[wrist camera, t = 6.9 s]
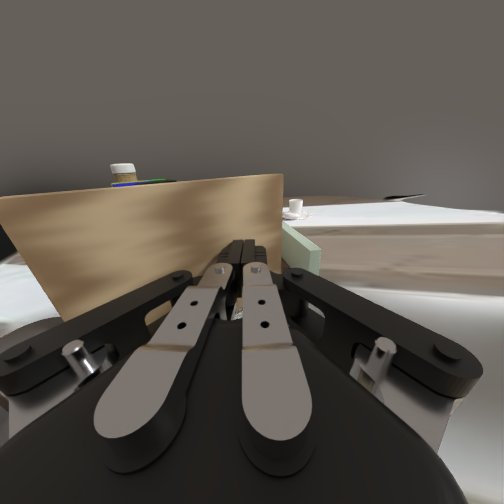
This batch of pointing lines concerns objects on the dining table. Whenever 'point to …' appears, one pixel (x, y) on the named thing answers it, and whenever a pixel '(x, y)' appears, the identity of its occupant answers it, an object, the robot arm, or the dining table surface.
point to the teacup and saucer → (295, 210)
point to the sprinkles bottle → (124, 172)
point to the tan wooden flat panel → (135, 238)
